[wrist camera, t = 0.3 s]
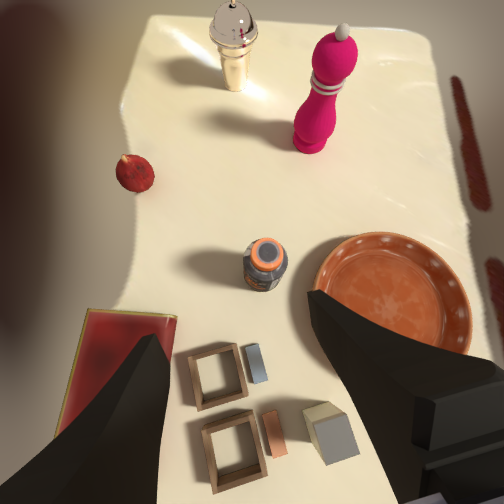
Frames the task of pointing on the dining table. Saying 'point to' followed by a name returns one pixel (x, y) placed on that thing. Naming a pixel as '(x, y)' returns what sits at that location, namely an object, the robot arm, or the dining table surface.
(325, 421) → the plug
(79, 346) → the hardcover book
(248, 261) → the pill bottle
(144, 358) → the robot arm
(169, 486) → the dining table surface
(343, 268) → the saucer
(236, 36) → the cup with straw
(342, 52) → the pepper mill
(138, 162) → the onion
